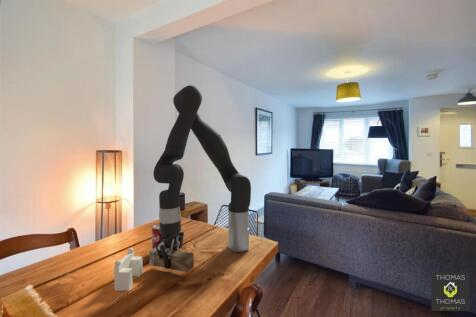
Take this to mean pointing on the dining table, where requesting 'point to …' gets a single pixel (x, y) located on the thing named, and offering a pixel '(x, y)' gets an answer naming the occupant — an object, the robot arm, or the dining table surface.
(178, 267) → the rail
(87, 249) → the dining table surface
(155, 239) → the soda can
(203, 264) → the dining table surface
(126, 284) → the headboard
